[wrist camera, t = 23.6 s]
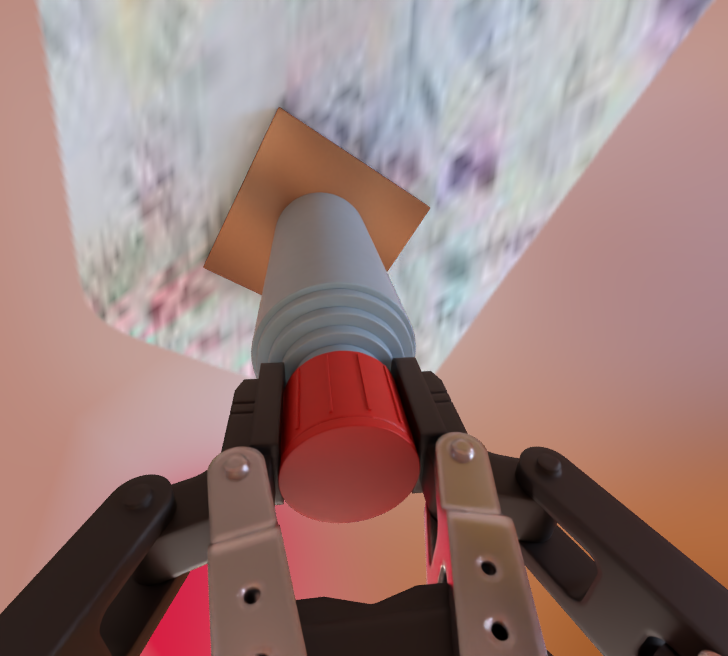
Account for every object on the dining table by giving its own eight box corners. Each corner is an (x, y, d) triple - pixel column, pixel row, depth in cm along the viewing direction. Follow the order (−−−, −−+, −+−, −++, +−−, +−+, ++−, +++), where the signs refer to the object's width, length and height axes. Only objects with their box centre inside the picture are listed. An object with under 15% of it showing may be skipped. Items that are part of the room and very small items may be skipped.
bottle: (302, 173, 25) (301, 331, 8) (383, 223, 27) (507, 425, 10) (259, 255, 27) (191, 507, 10) (337, 294, 29) (380, 554, 13)
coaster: (279, 106, 23) (278, 106, 23) (428, 206, 27) (430, 208, 27) (204, 264, 27) (202, 267, 27) (344, 331, 31) (345, 334, 31)
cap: (318, 330, 12) (323, 404, 9) (417, 376, 13) (448, 453, 10) (263, 416, 13) (252, 504, 10) (358, 450, 14) (371, 536, 11)
